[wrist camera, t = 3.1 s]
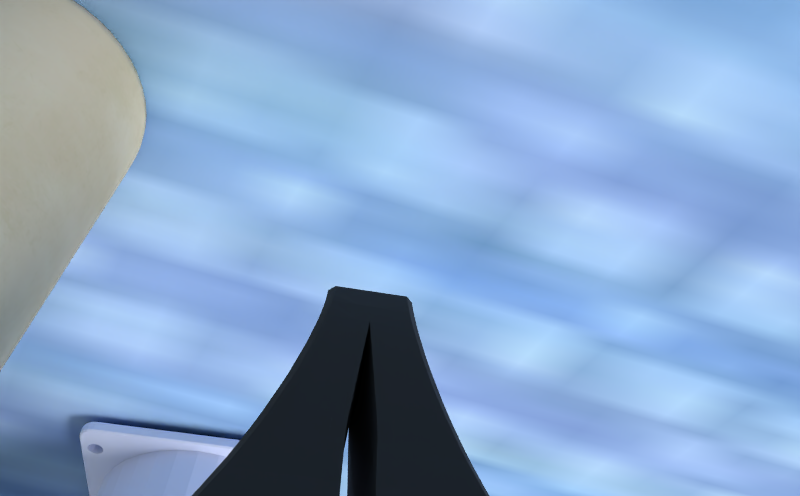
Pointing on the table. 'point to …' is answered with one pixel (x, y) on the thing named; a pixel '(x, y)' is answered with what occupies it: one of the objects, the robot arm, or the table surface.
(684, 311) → the table surface
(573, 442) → the table surface
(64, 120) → the candle
